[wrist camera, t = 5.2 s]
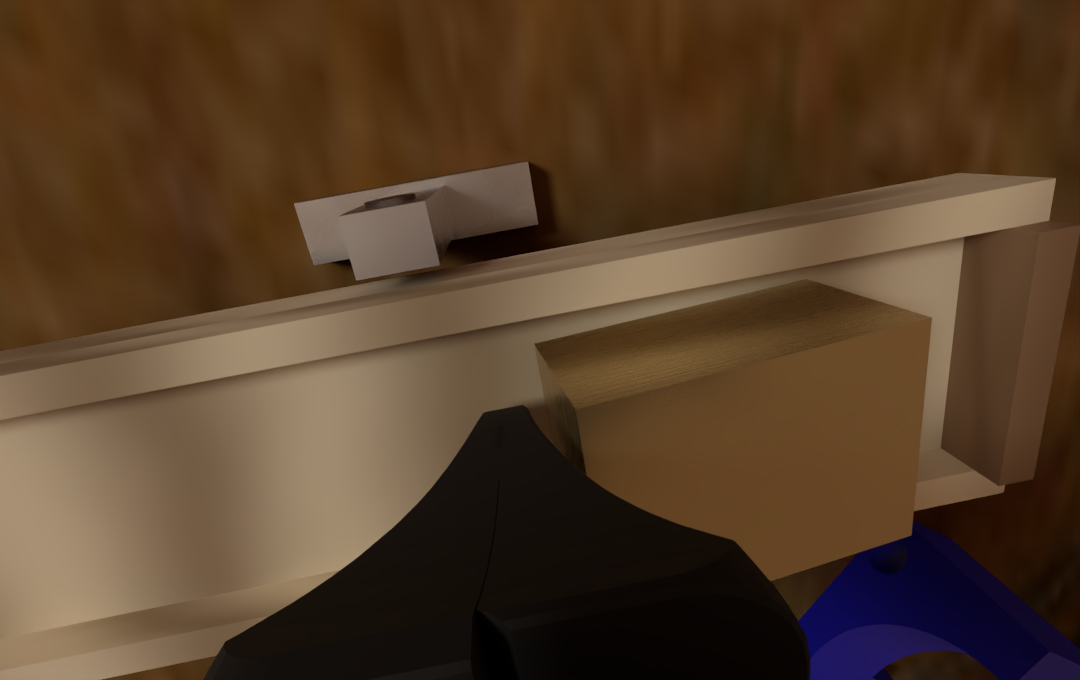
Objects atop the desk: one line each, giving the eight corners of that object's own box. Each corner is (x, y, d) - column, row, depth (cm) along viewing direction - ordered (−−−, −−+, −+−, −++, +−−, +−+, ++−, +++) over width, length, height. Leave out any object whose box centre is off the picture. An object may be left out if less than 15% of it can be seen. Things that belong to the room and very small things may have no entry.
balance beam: (5, 632, 14) (-108, 745, 11) (-170, 382, 11) (-367, 453, 9) (930, 444, 15) (1028, 508, 12) (959, 173, 12) (1089, 180, 10)
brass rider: (567, 523, 12) (612, 632, 9) (534, 343, 11) (576, 409, 8) (805, 454, 13) (911, 535, 10) (806, 279, 11) (932, 318, 9)
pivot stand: (406, 526, 18) (376, 659, 13) (304, 200, 14) (211, 227, 10) (581, 492, 18) (612, 612, 13) (526, 161, 14) (541, 167, 10)
